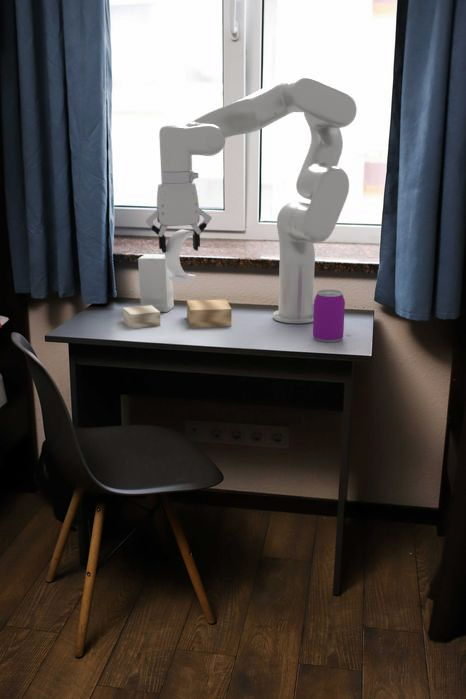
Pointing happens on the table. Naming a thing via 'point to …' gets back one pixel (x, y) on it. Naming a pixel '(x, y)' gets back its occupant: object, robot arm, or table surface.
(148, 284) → the skincare box
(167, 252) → the white crescent piece
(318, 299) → the beverage can
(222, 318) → the oak block
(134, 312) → the birch block
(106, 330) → the table surface
